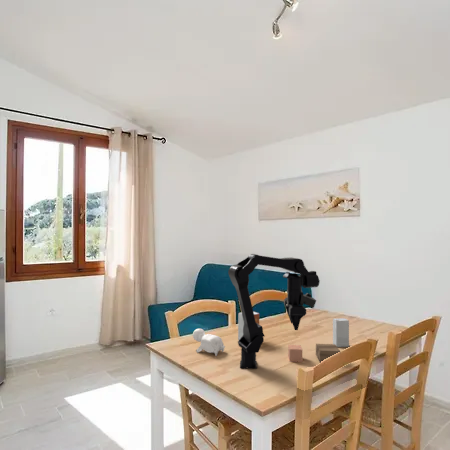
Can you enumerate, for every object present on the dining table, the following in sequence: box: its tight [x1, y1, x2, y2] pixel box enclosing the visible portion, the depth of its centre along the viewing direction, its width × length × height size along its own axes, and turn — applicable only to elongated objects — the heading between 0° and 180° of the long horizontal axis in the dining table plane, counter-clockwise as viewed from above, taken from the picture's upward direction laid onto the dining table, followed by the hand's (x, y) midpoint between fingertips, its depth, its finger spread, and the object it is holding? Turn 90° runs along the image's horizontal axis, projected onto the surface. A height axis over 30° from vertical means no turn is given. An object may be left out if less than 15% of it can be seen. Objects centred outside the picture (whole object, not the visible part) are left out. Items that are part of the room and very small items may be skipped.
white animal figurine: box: [192, 328, 226, 357], centre depth 147 cm, size 9×8×15 cm
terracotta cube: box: [287, 344, 303, 363], centre depth 138 cm, size 5×5×5 cm
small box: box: [237, 311, 260, 341], centre depth 160 cm, size 8×6×13 cm
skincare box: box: [332, 317, 350, 348], centre depth 154 cm, size 6×4×12 cm
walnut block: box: [315, 343, 341, 363], centre depth 139 cm, size 8×8×5 cm
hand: (294, 326), depth 138 cm, fingers open, 9 cm apart
